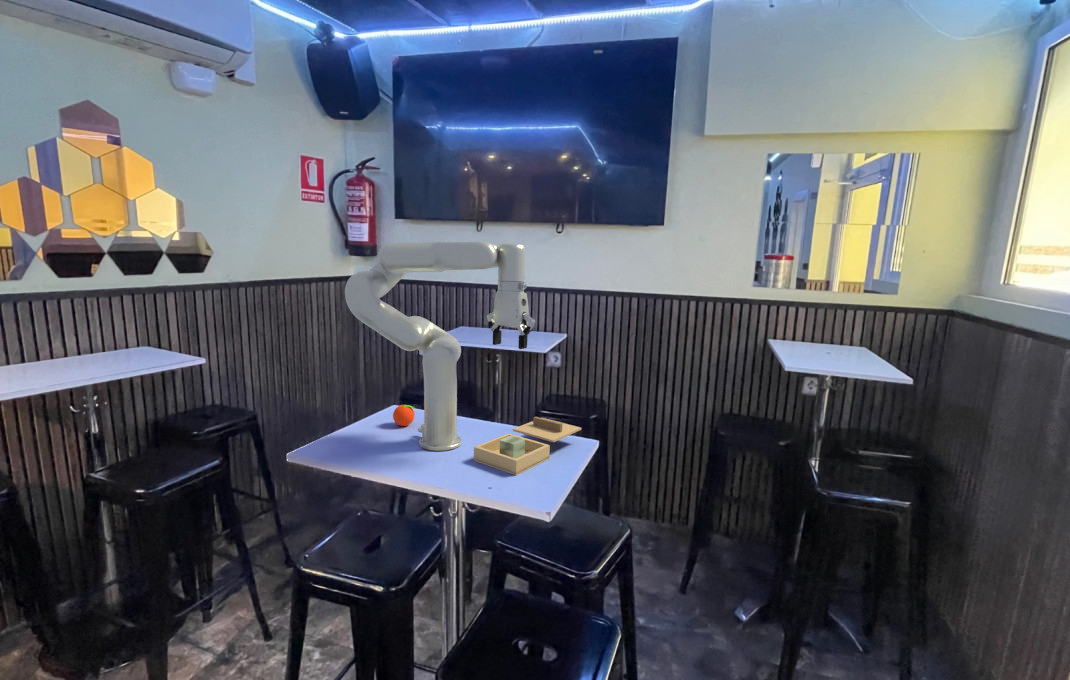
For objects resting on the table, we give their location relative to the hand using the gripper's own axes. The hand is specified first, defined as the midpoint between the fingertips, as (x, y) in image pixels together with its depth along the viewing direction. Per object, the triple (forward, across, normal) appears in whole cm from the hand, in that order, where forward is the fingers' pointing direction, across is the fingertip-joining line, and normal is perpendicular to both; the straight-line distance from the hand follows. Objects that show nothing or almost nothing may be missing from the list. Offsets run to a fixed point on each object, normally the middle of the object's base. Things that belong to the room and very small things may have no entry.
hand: (509, 346), depth 152 cm
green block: (+30, -8, +8) cm, 31 cm away
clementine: (+31, +37, +8) cm, 49 cm away
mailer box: (+30, -8, +8) cm, 32 cm away
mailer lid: (+26, -8, -9) cm, 29 cm away
